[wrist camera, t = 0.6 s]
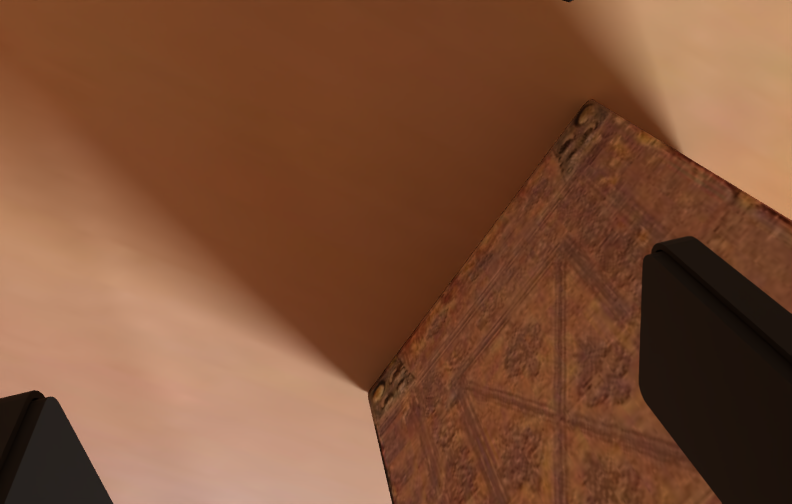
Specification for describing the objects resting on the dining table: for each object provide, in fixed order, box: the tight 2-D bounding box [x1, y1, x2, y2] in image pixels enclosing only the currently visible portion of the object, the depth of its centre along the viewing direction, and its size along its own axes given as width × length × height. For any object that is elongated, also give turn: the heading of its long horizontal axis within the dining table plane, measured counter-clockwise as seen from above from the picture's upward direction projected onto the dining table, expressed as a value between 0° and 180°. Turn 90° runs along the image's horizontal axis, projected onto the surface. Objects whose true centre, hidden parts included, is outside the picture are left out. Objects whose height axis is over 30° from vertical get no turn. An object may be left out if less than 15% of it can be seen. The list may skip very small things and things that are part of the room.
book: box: [368, 100, 792, 504], centre depth 33 cm, size 25×9×30 cm, turn 145°
